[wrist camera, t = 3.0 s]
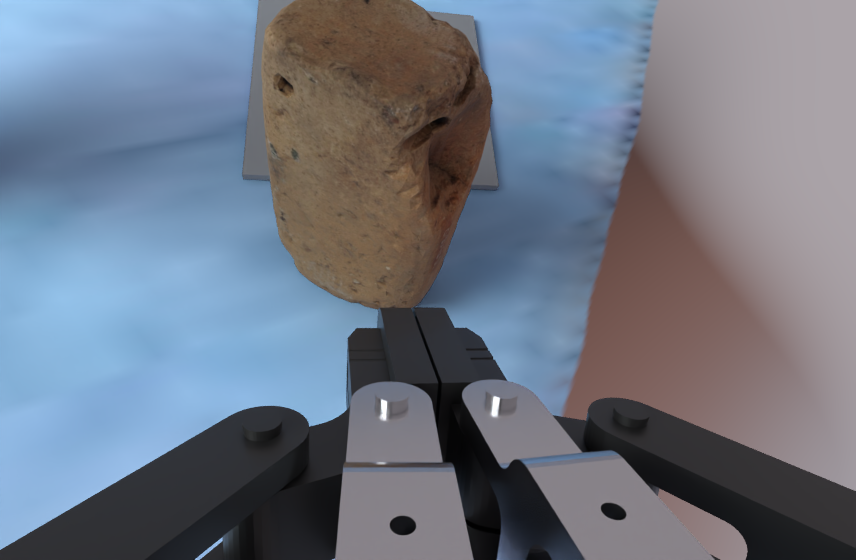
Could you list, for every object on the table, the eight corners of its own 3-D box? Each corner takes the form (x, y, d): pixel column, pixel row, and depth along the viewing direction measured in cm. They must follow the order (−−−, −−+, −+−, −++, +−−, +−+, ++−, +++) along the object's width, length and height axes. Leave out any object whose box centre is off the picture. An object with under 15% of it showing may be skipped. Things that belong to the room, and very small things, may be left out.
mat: (243, 179, 42) (242, 174, 41) (260, 0, 50) (259, -6, 50) (496, 190, 45) (498, 185, 45) (471, 21, 54) (473, 15, 54)
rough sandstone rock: (271, 262, 39) (227, 23, 22) (332, 192, 43) (338, -63, 25) (399, 342, 38) (465, 161, 21) (451, 264, 42) (546, 51, 24)
